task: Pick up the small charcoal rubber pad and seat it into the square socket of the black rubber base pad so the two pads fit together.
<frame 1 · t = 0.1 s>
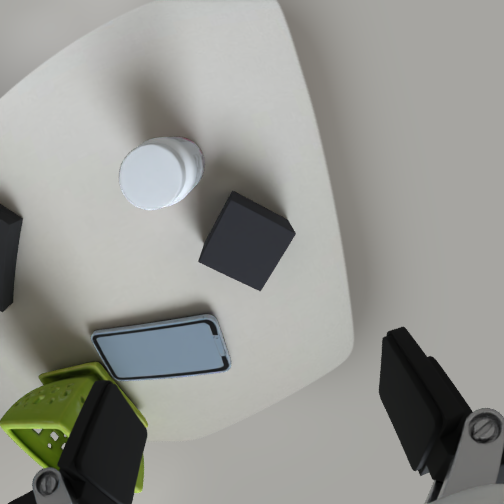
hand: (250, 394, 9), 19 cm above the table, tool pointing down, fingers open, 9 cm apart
pad: (245, 232, 27), on the table
smartphone: (159, 348, 31), on the table
pill bottle: (178, 164, 25), on the table
flower pot: (95, 391, 34), on the table
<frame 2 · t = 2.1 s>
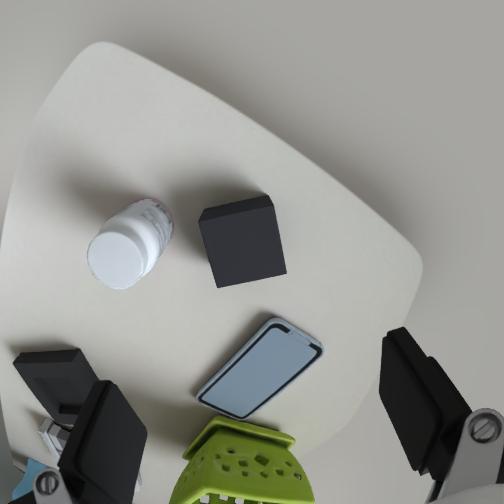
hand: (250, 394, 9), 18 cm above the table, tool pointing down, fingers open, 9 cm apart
pad: (243, 232, 26), on the table
alarm clock: (97, 455, 40), on the table
smartphone: (255, 372, 32), on the table
base pad: (69, 385, 33), on the table
pill bottle: (149, 223, 26), on the table
vase: (50, 472, 46), on the table
flower pot: (235, 439, 37), on the table
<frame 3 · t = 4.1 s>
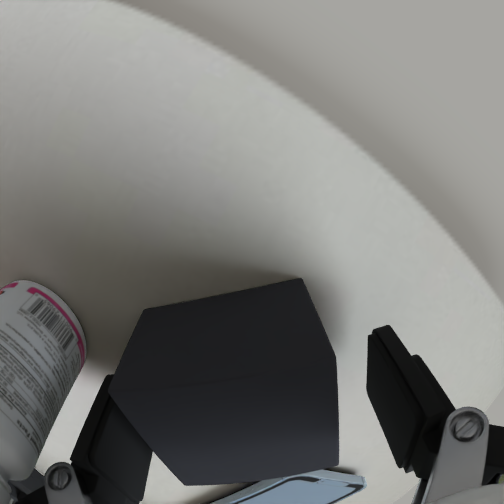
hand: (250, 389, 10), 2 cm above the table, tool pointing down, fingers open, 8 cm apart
pad: (238, 356, 11), on the table
smartphone: (261, 503, 17), on the table
base pad: (20, 475, 17), on the table
pill bottle: (44, 325, 10), on the table
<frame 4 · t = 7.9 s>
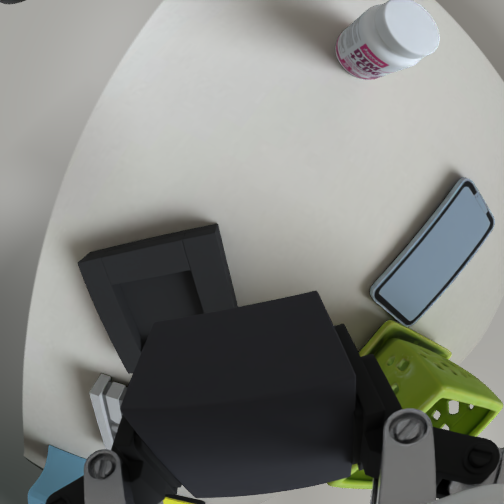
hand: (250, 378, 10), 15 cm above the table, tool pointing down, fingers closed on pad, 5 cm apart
pad: (250, 369, 11), point 15 cm above the table, touching gripper
alarm clock: (168, 429, 33), on the table
smartphone: (435, 252, 26), on the table
base pad: (168, 301, 26), on the table
pill bottle: (360, 55, 19), on the table
vase: (77, 464, 39), on the table
flower pot: (382, 366, 31), on the table
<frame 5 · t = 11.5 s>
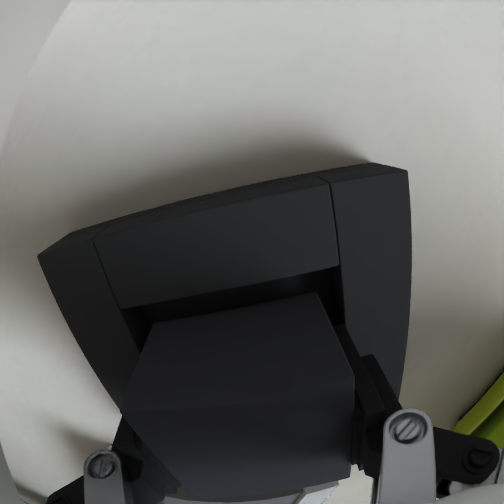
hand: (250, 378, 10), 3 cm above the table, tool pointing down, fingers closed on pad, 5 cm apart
pad: (249, 369, 11), point 2 cm above the table, touching gripper
alarm clock: (215, 502, 20), on the table
base pad: (247, 334, 12), on the table
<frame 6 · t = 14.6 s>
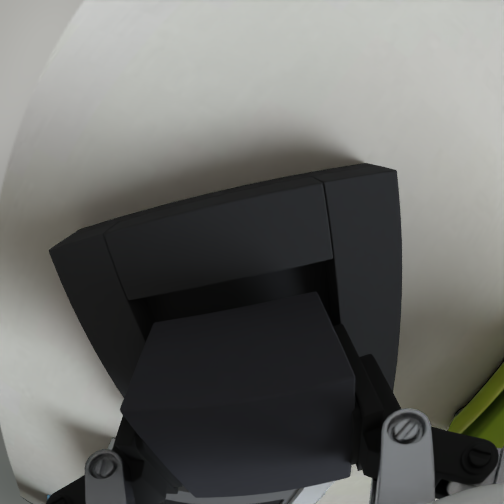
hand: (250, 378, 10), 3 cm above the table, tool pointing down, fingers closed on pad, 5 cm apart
pad: (250, 369, 11), point 3 cm above the table, touching gripper
alarm clock: (216, 496, 20), on the table
base pad: (247, 326, 13), on the table
when the fingers open (3 cm above the table, at t = 17.1 s): pad drops 2 cm, resting on base pad.
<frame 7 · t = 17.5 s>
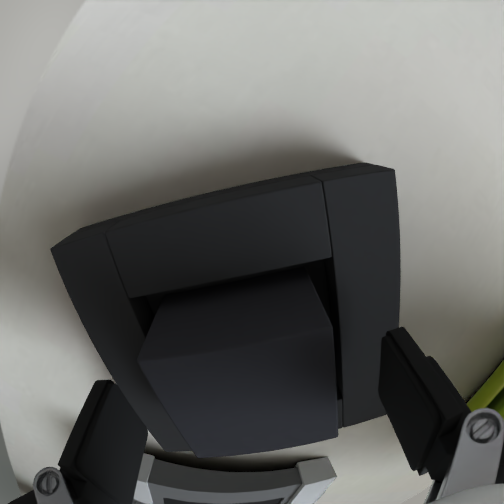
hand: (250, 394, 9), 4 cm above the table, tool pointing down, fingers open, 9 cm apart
pad: (247, 338, 12), point 1 cm above the table, touching base pad
alarm clock: (216, 495, 20), on the table
base pad: (247, 325, 13), on the table
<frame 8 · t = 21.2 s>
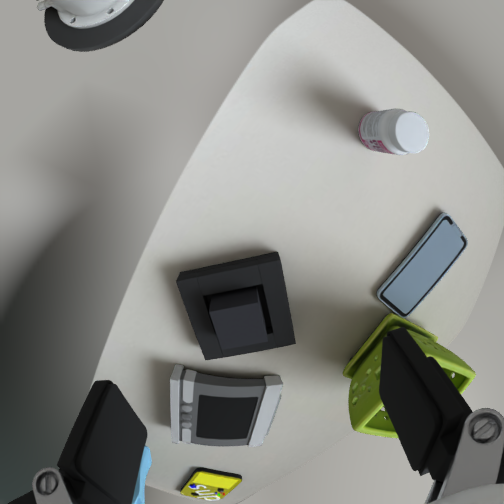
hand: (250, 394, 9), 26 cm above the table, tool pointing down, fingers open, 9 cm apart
pad: (239, 309, 37), point 1 cm above the table, touching base pad
alarm clock: (223, 406, 45), on the table
smartphone: (422, 265, 37), on the table
base pad: (239, 305, 38), on the table
game console: (209, 483, 57), on the table
pill bottle: (375, 131, 31), on the table
vase: (129, 451, 51), on the table
flower pot: (386, 347, 42), on the table
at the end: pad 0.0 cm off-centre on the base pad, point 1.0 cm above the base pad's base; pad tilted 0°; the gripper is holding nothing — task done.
